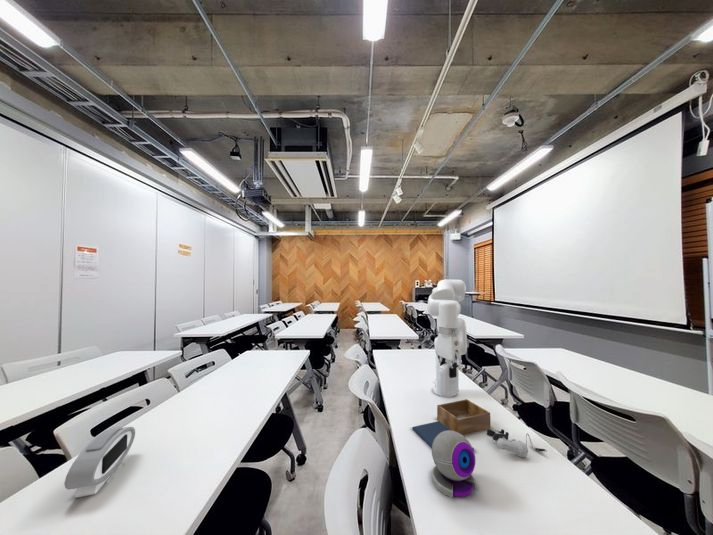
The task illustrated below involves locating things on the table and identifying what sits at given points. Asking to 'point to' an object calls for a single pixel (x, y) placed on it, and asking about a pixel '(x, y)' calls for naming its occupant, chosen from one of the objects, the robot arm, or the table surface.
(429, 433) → the mat
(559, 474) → the table surface
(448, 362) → the robot arm
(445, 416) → the wooden box
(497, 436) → the clip-on lamp
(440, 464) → the webcam
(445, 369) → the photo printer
